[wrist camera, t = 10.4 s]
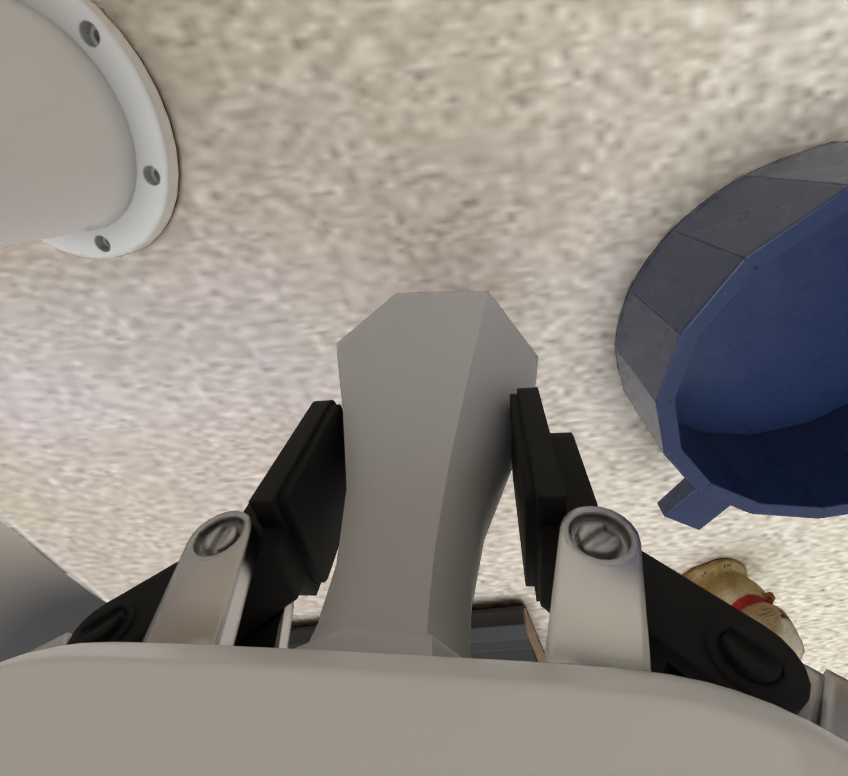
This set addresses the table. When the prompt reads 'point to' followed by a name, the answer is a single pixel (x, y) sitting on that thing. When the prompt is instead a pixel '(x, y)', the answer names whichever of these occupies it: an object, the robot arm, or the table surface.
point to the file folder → (481, 635)
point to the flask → (421, 469)
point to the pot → (749, 344)
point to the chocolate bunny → (745, 597)
